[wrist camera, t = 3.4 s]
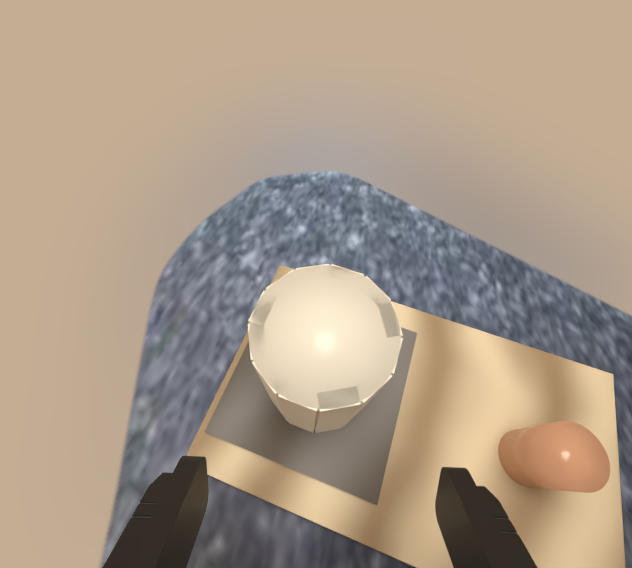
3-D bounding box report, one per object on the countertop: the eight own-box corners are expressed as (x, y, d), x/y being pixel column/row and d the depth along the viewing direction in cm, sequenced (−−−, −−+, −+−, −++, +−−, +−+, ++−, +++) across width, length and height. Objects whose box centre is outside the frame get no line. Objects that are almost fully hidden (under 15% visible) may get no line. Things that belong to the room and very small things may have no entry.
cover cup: (324, 315, 25) (332, 242, 17) (388, 385, 22) (432, 339, 14) (250, 371, 22) (219, 319, 15) (312, 455, 20) (315, 447, 12)
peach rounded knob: (517, 418, 22) (563, 407, 18) (562, 461, 21) (622, 459, 17) (487, 453, 21) (530, 450, 17) (532, 501, 20) (589, 509, 16)
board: (189, 463, 21) (179, 463, 20) (281, 274, 28) (280, 262, 27) (607, 649, 18) (638, 667, 16) (596, 379, 25) (617, 373, 23)
